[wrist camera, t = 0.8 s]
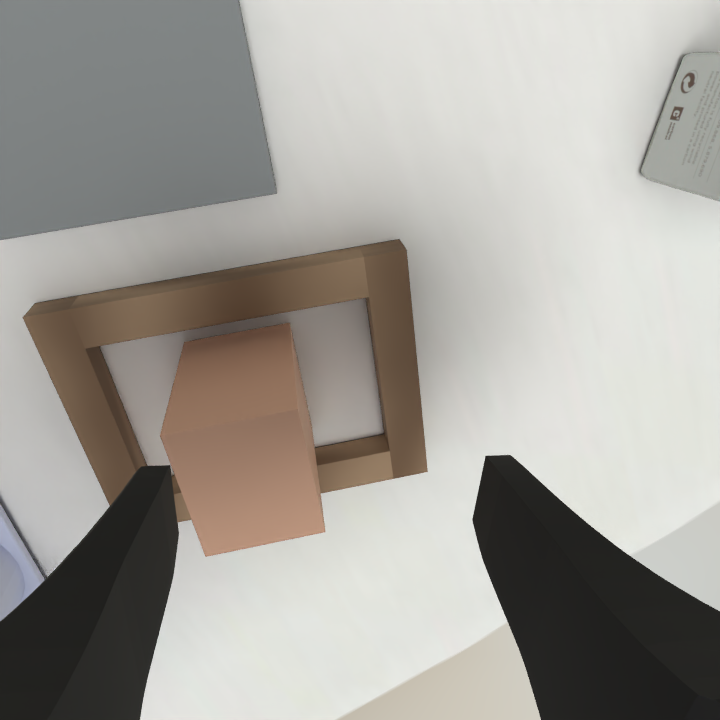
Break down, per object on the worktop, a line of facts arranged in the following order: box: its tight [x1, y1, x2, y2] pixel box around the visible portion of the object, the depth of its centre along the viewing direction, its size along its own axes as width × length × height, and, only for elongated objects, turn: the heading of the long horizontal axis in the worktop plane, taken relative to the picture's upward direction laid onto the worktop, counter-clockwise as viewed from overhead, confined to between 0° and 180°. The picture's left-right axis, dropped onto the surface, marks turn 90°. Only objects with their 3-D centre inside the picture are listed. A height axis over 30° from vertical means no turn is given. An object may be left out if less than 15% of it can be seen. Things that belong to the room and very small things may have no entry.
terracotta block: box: [160, 323, 325, 557], centre depth 21 cm, size 4×5×6 cm
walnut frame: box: [23, 239, 428, 522], centre depth 23 cm, size 13×10×1 cm
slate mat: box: [0, 0, 277, 240], centre depth 17 cm, size 9×9×1 cm
